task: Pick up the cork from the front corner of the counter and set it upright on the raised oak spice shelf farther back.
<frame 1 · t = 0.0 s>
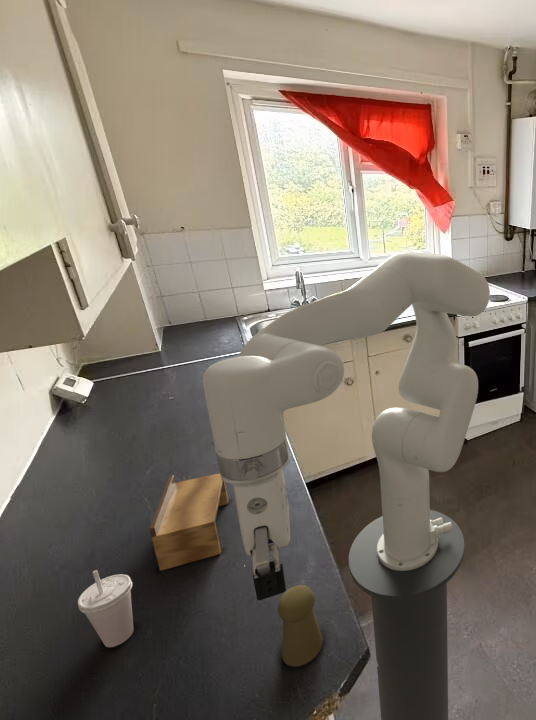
hand: (272, 566, 57), 22 cm above the counter, tool pointing down, fingers open, 9 cm apart
spice shelf: (198, 532, 92), on the counter
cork: (303, 648, 69), on the counter
smoothie: (119, 636, 70), on the counter
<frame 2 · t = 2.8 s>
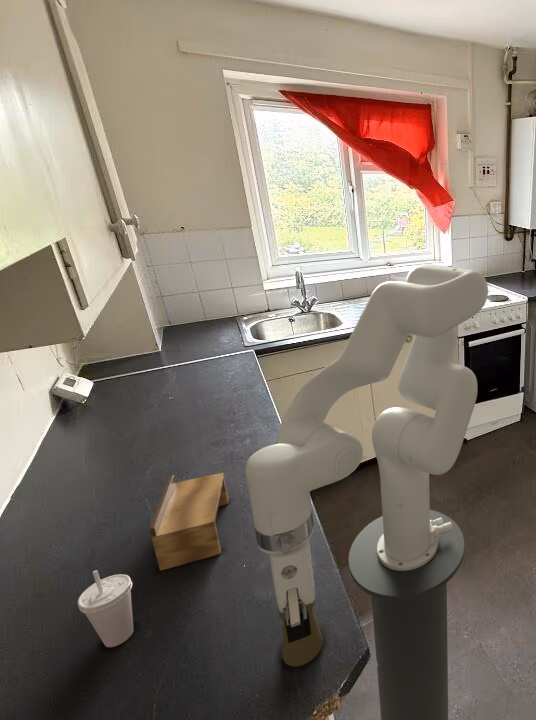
hand: (298, 619, 67), 6 cm above the counter, tool pointing down, fingers closed on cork, 5 cm apart
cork: (303, 648, 69), on the counter, touching gripper
everything else where it was.
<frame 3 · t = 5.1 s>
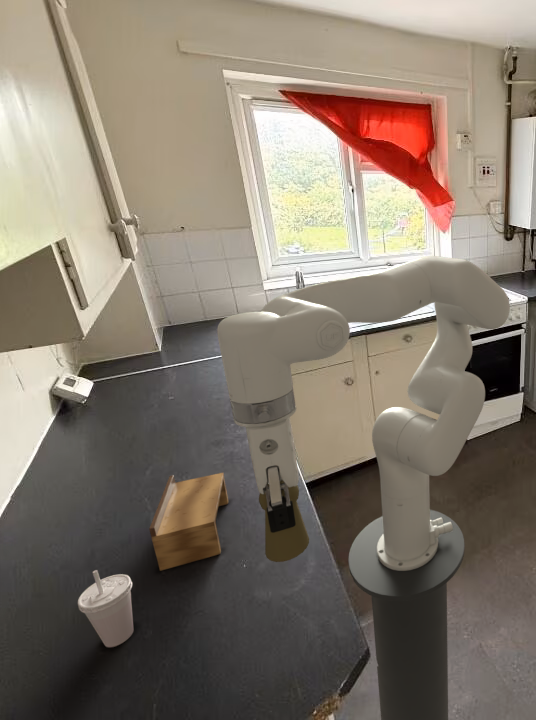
hand: (282, 513, 62), 25 cm above the counter, tool pointing down, fingers closed on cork, 5 cm apart
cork: (287, 547, 64), point 19 cm above the counter, touching gripper
everything else where it was.
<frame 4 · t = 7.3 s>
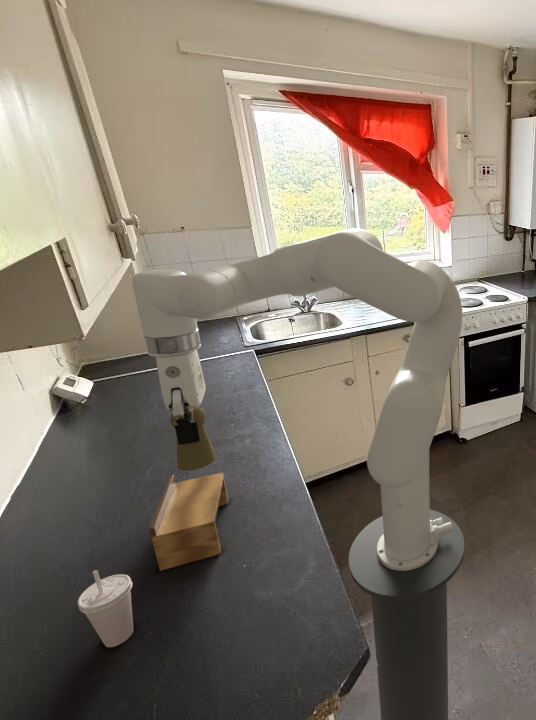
hand: (192, 433, 78), 28 cm above the counter, tool pointing down, fingers closed on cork, 5 cm apart
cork: (197, 462, 80), point 22 cm above the counter, touching gripper
everything else where it was.
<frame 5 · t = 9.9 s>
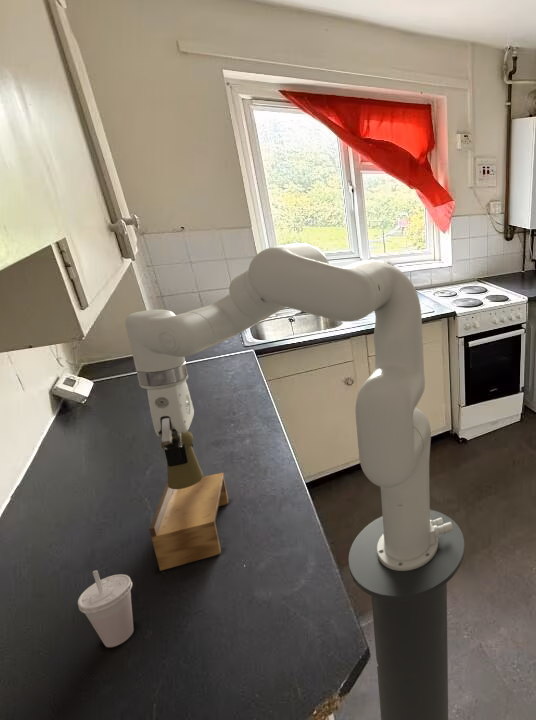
hand: (181, 455, 86), 19 cm above the counter, tool pointing down, fingers closed on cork, 5 cm apart
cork: (186, 480, 88), point 13 cm above the counter, touching gripper
everything else where it was.
when the fingers open (14 cm above the counter, at t = 11.6 s): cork stays where it is, resting on spice shelf.
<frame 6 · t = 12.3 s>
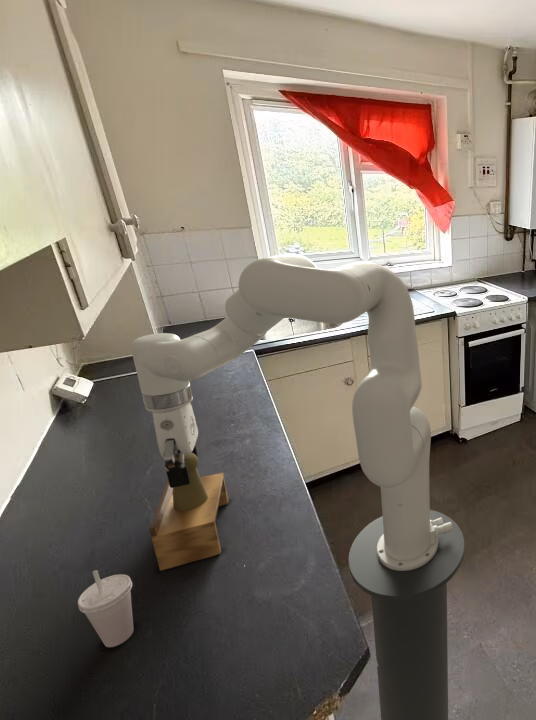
hand: (185, 471, 87), 15 cm above the counter, tool pointing down, fingers open, 9 cm apart
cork: (191, 502, 89), point 8 cm above the counter, touching spice shelf
everything else where it was.
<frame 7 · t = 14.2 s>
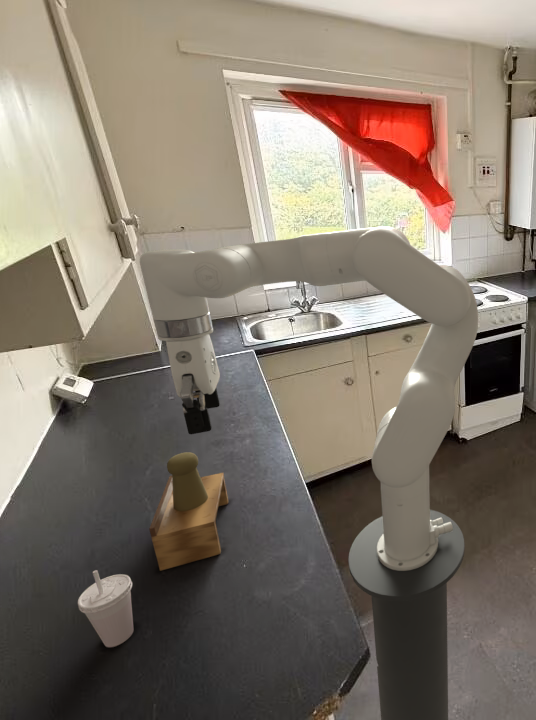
hand: (205, 419, 74), 32 cm above the counter, tool pointing down, fingers open, 9 cm apart
nothing on the counter moved.
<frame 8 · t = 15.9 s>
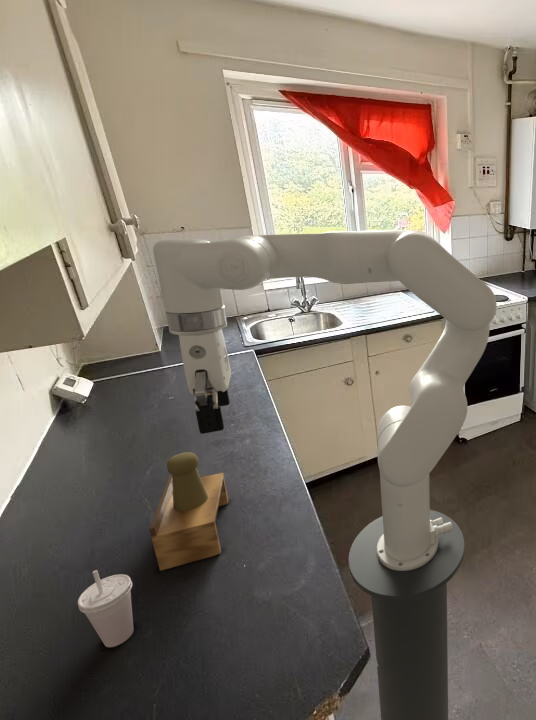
hand: (216, 417, 71), 34 cm above the counter, tool pointing down, fingers open, 9 cm apart
nothing on the counter moved.
at the end: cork inside the target area on the spice shelf (0.0 cm from its centre), point 7.8 cm above the spice shelf's base; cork tilted 0°; the gripper is holding nothing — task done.
